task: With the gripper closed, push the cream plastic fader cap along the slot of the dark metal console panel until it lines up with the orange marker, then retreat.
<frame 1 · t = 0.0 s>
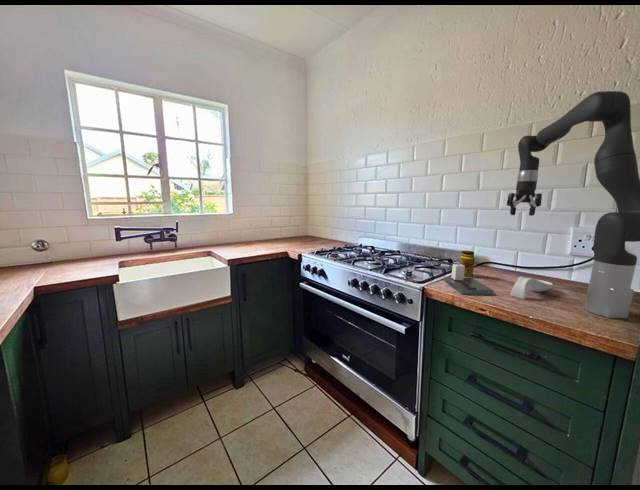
hand: (522, 215, 129), 29 cm above the worktop, fingers open, 8 cm apart
console: (467, 287, 113), on the worktop
condiment: (465, 275, 132), on the worktop
spoon rest: (528, 293, 109), on the worktop
fader: (458, 271, 117), point 5 cm above the worktop, slide at 0.0 cm
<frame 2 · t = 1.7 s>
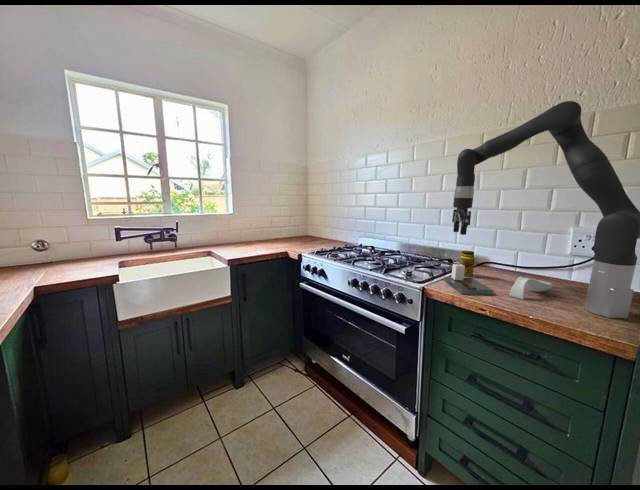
hand: (459, 233, 122), 21 cm above the worktop, fingers open, 8 cm apart
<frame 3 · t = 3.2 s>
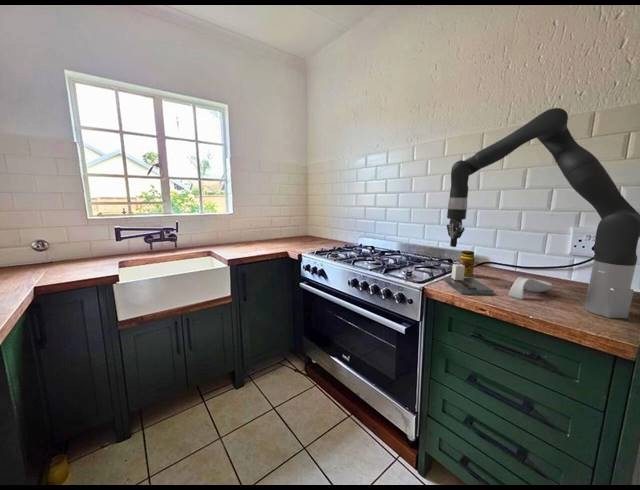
hand: (453, 246, 122), 15 cm above the worktop, fingers closed
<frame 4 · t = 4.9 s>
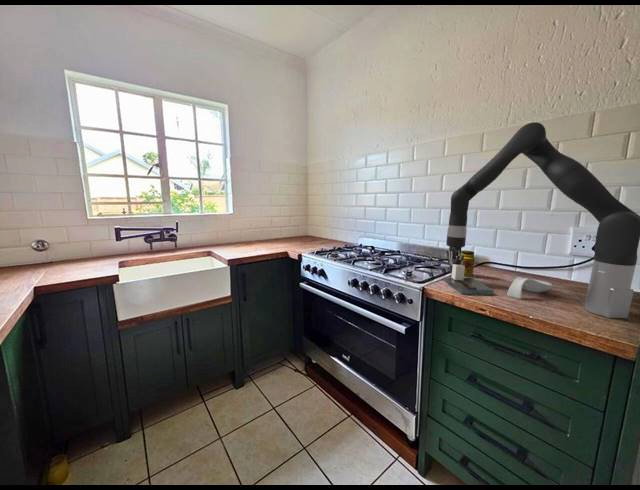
hand: (452, 273, 122), 3 cm above the worktop, fingers closed
fader: (458, 271, 117), point 5 cm above the worktop, slide at 0.0 cm, touching hand
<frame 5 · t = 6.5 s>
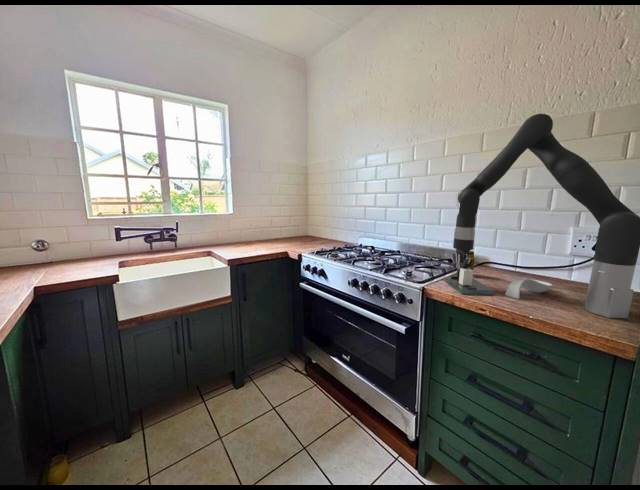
hand: (459, 277, 115), 3 cm above the worktop, fingers closed
fader: (465, 276, 110), point 5 cm above the worktop, slide at 7.0 cm, touching hand
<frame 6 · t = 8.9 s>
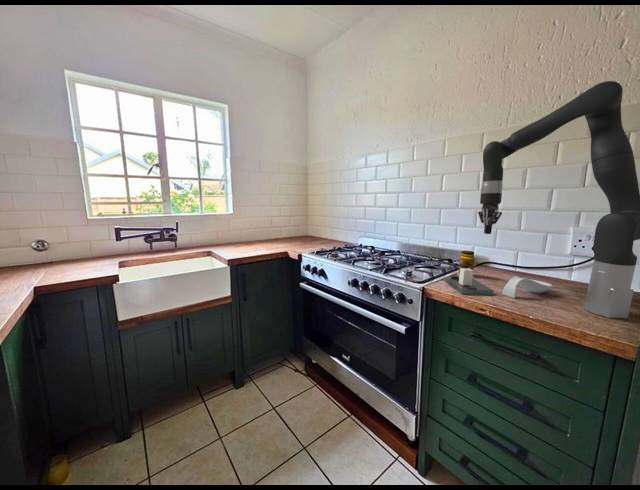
hand: (487, 233, 115), 22 cm above the worktop, fingers closed
fader: (465, 276, 110), point 5 cm above the worktop, slide at 7.0 cm
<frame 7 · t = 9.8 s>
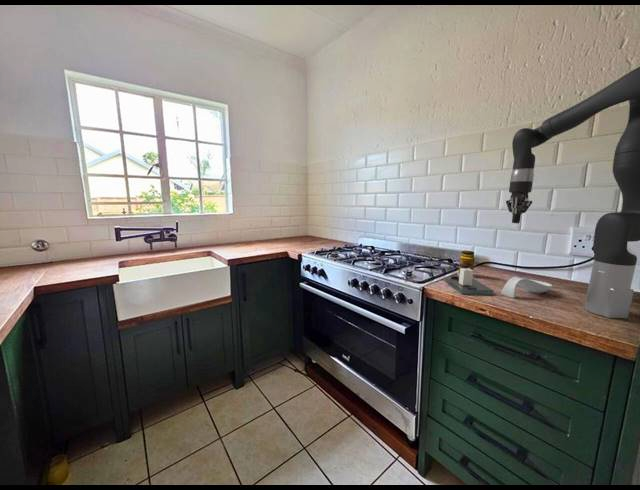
hand: (515, 223, 113), 27 cm above the worktop, fingers closed
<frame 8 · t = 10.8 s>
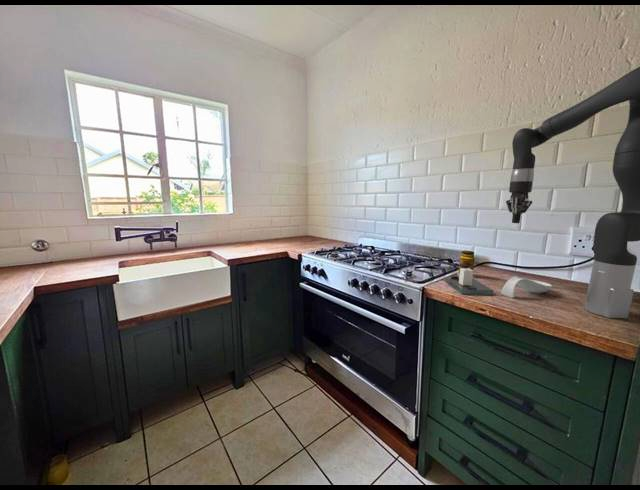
hand: (515, 223, 113), 27 cm above the worktop, fingers closed
at the end: fader slide at 7.0 cm; fader moved 7.0 cm from its start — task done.
